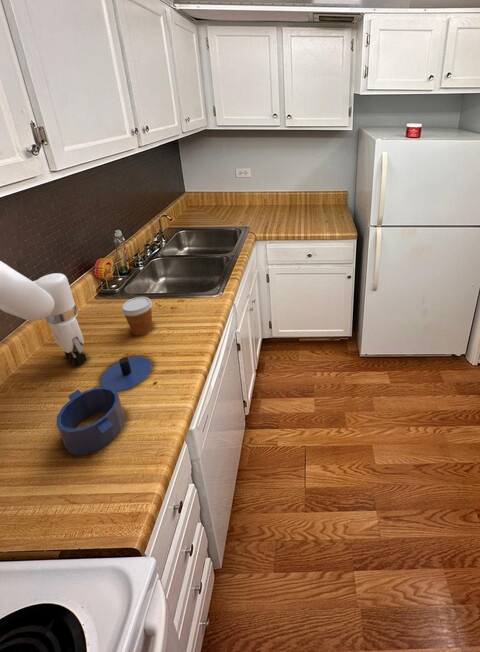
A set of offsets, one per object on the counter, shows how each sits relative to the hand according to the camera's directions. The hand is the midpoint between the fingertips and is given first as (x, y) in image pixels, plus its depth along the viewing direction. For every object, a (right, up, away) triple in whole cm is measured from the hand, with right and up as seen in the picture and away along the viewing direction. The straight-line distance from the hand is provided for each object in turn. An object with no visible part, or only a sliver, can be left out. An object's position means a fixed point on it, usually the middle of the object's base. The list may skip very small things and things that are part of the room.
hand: (77, 360), depth 106 cm
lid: (+19, -2, -5) cm, 20 cm away
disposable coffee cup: (+14, +5, +14) cm, 20 cm away
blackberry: (0, 0, 0) cm, 0 cm away
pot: (+21, -9, -22) cm, 32 cm away
